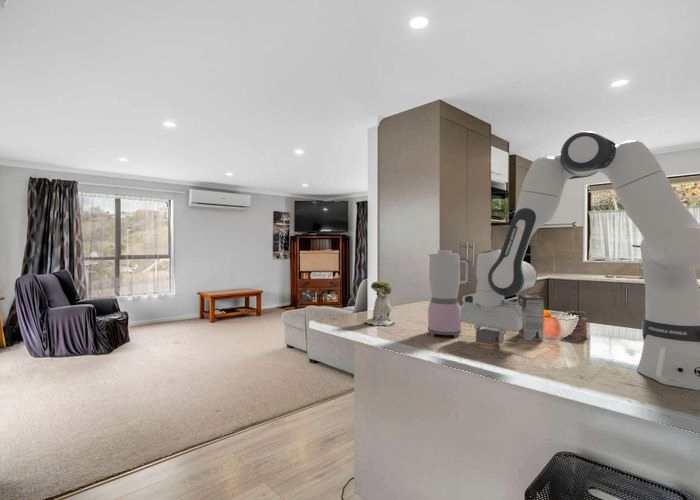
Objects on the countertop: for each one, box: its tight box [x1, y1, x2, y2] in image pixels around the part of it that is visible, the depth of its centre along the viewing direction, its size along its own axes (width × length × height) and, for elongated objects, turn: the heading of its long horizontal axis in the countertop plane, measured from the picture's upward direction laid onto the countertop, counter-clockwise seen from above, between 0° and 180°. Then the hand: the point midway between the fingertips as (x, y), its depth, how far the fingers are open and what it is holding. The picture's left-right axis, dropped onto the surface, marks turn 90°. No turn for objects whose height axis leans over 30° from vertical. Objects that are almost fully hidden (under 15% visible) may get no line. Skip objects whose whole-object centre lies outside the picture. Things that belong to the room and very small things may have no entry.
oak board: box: [464, 339, 552, 360], centre depth 119 cm, size 22×14×2 cm, turn 42°
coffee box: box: [518, 294, 545, 342], centre depth 131 cm, size 9×6×16 cm
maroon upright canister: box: [563, 310, 588, 341], centre depth 135 cm, size 8×3×10 cm, turn 76°
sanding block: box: [475, 327, 505, 346], centre depth 123 cm, size 5×9×4 cm, turn 132°
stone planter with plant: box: [365, 280, 396, 327], centre depth 161 cm, size 12×13×18 cm
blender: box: [427, 249, 471, 339], centre depth 141 cm, size 16×12×32 cm
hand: (489, 340), depth 123 cm, fingers closed on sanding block, 5 cm apart
